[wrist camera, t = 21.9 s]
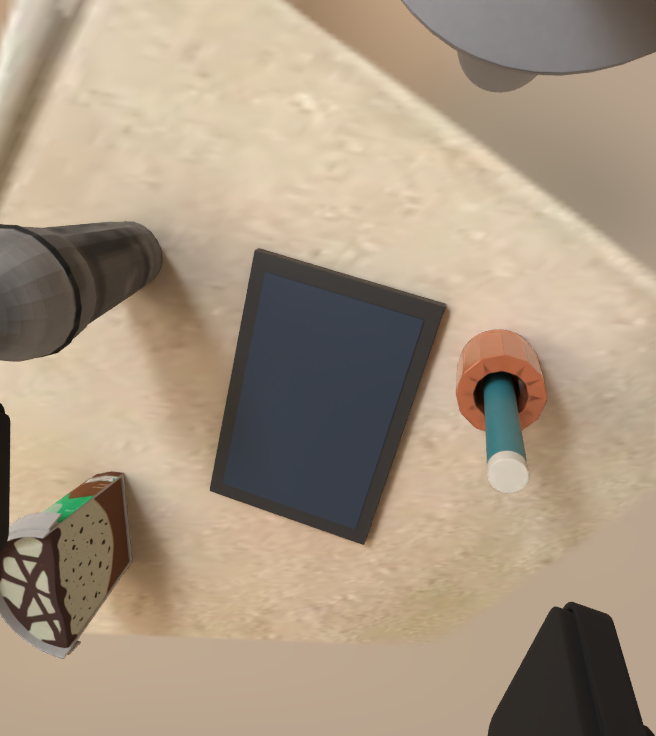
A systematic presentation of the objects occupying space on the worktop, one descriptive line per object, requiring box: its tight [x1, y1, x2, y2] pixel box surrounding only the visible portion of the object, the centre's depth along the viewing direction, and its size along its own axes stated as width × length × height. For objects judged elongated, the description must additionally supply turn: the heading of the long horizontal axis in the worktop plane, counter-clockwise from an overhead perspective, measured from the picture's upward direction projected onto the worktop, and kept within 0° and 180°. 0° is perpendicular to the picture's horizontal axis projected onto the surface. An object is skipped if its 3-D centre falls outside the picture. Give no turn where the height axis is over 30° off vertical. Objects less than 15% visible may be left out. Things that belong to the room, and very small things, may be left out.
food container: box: [0, 472, 132, 659], centre depth 47 cm, size 12×6×10 cm, turn 177°
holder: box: [456, 330, 547, 431], centre depth 36 cm, size 5×5×5 cm
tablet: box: [210, 248, 445, 545], centre depth 42 cm, size 20×13×1 cm, turn 166°
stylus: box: [483, 371, 529, 493], centre depth 32 cm, size 2×2×13 cm
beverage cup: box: [0, 222, 162, 361], centre depth 33 cm, size 7×7×20 cm
